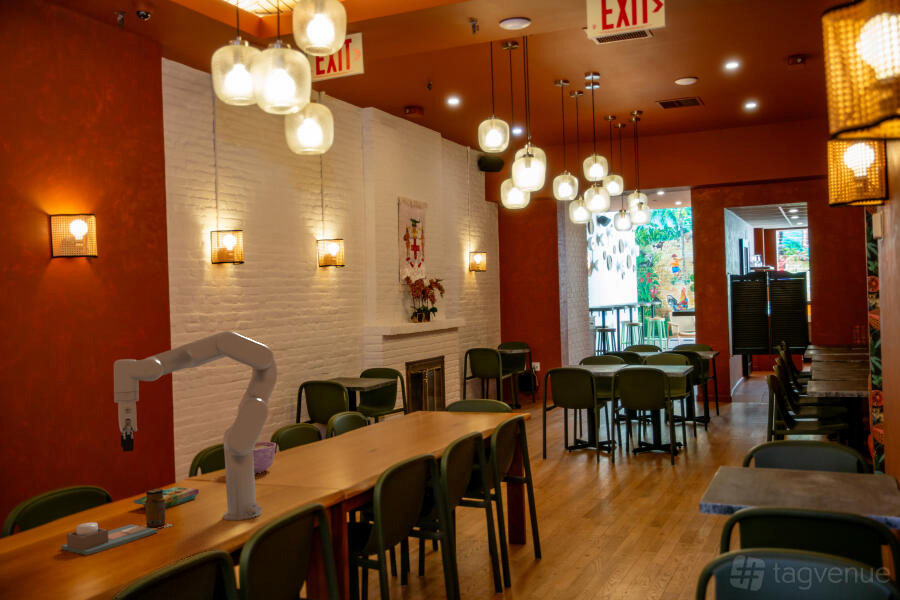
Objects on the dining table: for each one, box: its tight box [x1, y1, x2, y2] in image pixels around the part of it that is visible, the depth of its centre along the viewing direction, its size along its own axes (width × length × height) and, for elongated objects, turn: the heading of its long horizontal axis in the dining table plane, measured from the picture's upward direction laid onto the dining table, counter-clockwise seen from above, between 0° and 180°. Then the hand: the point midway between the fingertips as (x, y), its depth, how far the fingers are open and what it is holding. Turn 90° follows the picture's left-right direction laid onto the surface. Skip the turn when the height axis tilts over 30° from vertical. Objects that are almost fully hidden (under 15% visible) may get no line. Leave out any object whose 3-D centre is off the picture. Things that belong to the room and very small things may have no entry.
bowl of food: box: [253, 441, 277, 475], centre depth 334 cm, size 20×20×12 cm
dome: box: [75, 521, 99, 537], centre depth 236 cm, size 6×6×3 cm
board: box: [60, 524, 158, 556], centre depth 242 cm, size 14×24×5 cm, turn 147°
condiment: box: [141, 488, 174, 529], centre depth 256 cm, size 7×8×12 cm
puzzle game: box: [133, 486, 200, 509], centre depth 286 cm, size 12×5×20 cm
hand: (127, 448), depth 251 cm, fingers open, 9 cm apart
